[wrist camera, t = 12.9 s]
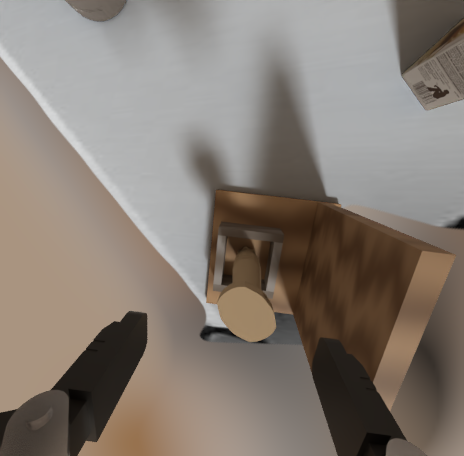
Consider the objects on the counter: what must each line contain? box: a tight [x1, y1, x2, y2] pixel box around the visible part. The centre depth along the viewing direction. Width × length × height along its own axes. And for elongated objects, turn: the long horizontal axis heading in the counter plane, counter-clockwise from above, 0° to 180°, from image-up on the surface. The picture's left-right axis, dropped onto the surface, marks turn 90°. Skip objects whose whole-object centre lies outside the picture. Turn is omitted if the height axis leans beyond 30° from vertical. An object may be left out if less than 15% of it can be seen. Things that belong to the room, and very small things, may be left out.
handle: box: [217, 247, 276, 342], centre depth 28 cm, size 5×6×15 cm
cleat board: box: [206, 190, 456, 411], centre depth 26 cm, size 20×19×21 cm
